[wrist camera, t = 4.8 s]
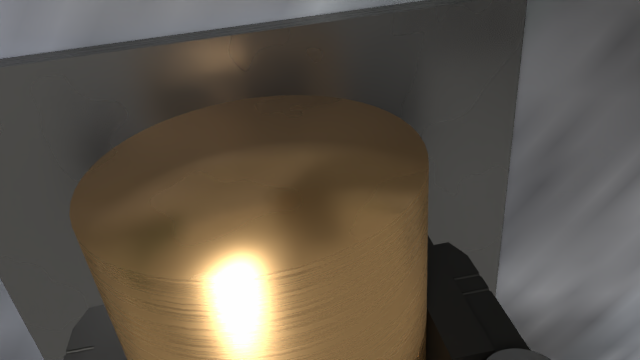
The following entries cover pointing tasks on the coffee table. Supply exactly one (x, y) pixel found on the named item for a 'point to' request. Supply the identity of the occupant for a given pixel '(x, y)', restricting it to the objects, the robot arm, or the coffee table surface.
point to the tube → (262, 233)
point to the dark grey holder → (244, 83)
